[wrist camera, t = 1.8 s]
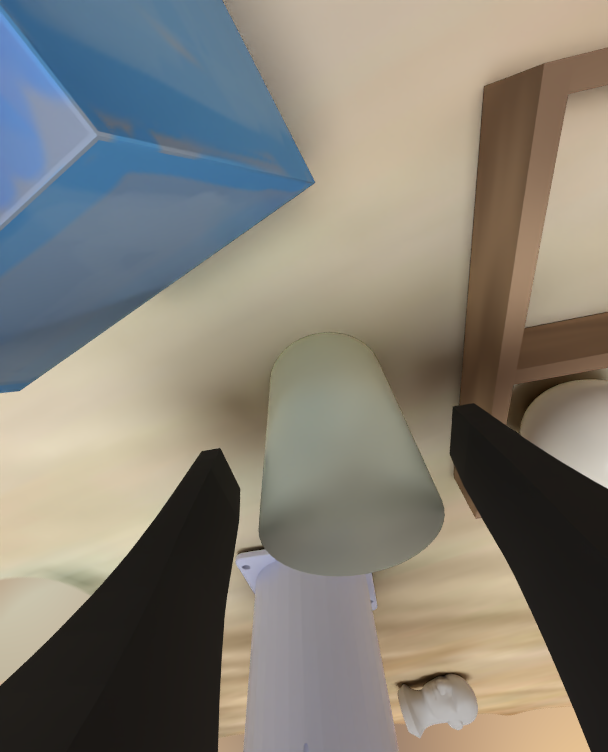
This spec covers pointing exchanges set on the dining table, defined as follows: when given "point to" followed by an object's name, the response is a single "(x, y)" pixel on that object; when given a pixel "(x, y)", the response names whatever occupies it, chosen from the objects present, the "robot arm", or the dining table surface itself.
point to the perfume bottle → (123, 162)
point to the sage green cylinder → (341, 465)
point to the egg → (572, 426)
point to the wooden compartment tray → (521, 240)
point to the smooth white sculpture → (438, 704)
